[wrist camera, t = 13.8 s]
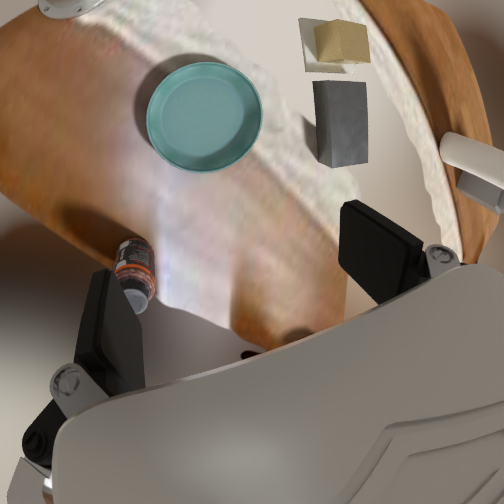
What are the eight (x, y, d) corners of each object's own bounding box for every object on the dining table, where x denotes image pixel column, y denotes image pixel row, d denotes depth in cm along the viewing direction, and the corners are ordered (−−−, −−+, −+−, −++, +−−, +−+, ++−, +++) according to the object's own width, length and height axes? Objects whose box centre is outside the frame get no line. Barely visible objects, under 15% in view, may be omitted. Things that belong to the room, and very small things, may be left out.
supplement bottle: (113, 237, 36) (102, 283, 27) (152, 234, 38) (153, 279, 29) (119, 272, 39) (113, 322, 30) (155, 269, 41) (159, 318, 32)
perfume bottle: (471, 175, 56) (520, 200, 41) (463, 195, 59) (511, 223, 44) (464, 165, 53) (517, 191, 38) (456, 187, 56) (508, 216, 41)
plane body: (312, 81, 34) (327, 80, 30) (349, 82, 35) (365, 82, 32) (318, 162, 41) (332, 168, 37) (352, 157, 42) (367, 162, 39)
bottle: (435, 158, 48) (546, 214, 24) (442, 126, 45) (556, 174, 20) (450, 165, 51) (549, 218, 27) (457, 136, 48) (558, 182, 23)
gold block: (313, 27, 28) (337, 19, 23) (341, 30, 29) (366, 25, 24) (318, 62, 32) (342, 58, 27) (345, 64, 33) (370, 62, 28)
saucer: (273, 136, 37) (280, 138, 35) (183, 189, 37) (185, 194, 34) (226, 47, 28) (231, 43, 26) (126, 102, 28) (124, 101, 26)
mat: (298, 18, 28) (300, 17, 27) (347, 25, 29) (350, 24, 29) (305, 72, 33) (307, 71, 32) (353, 74, 34) (356, 74, 34)
